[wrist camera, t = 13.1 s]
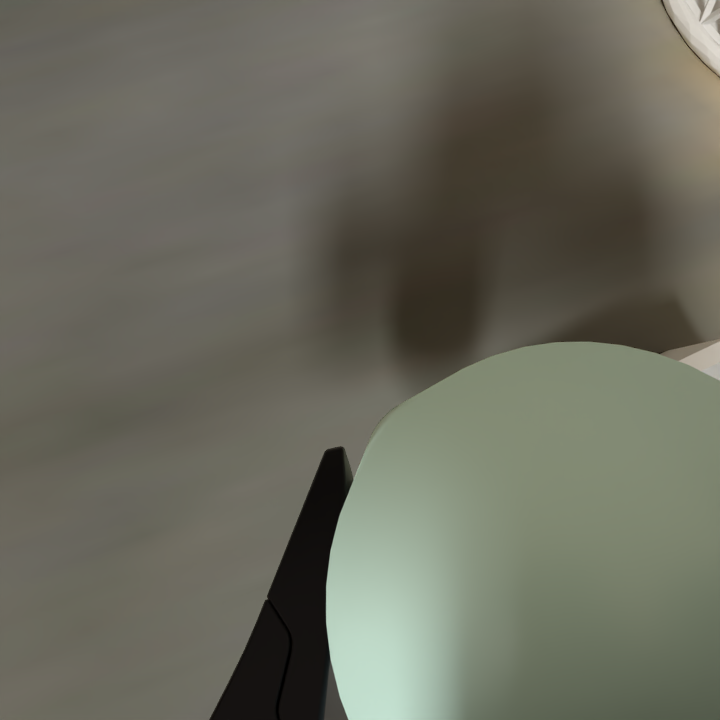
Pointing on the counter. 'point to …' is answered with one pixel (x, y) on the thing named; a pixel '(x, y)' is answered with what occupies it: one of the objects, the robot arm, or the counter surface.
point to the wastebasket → (698, 27)
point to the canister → (535, 545)
